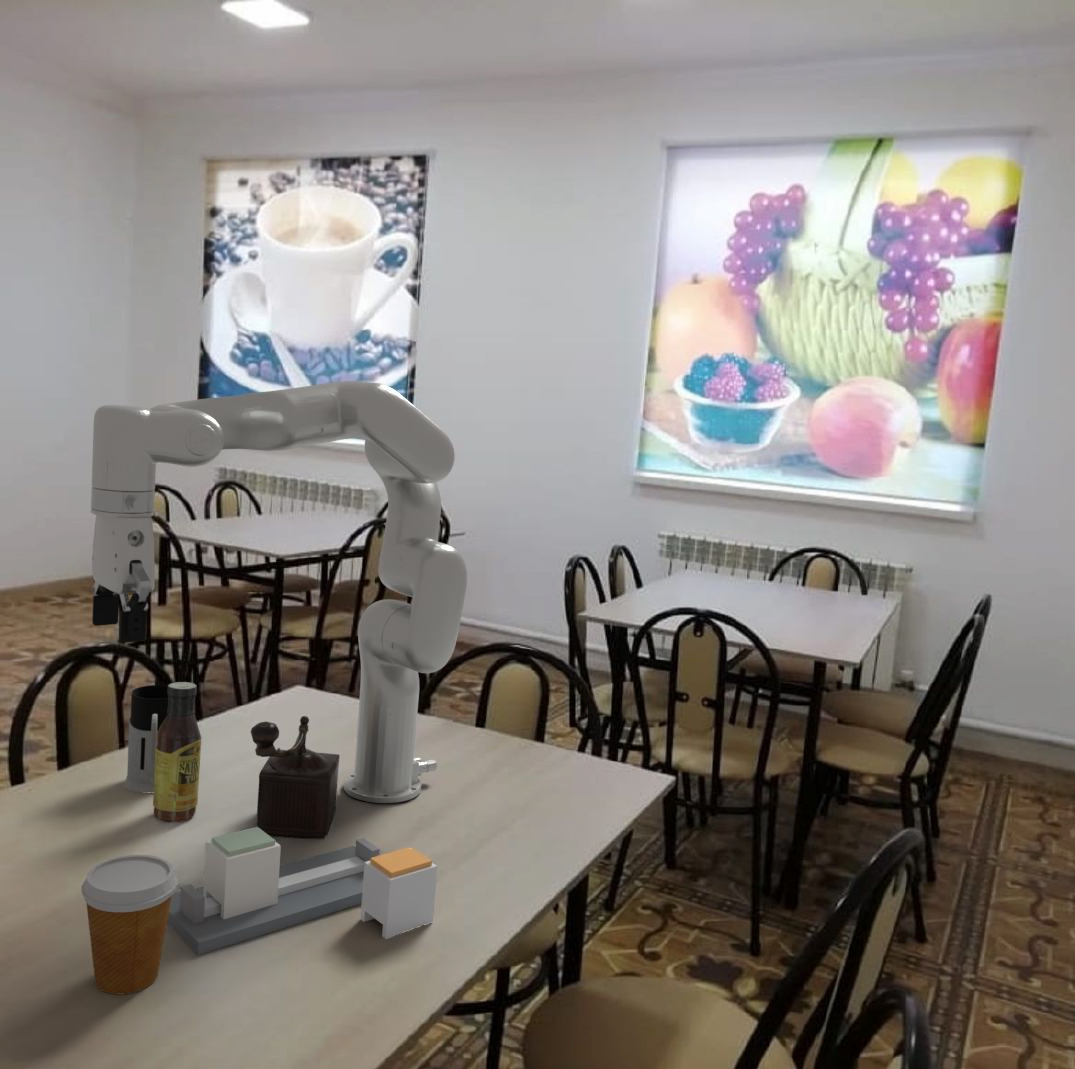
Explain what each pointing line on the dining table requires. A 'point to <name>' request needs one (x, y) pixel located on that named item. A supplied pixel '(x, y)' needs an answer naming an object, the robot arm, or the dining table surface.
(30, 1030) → the dining table surface
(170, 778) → the sauce bottle
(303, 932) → the dining table surface
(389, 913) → the module
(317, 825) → the pepper mill
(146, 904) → the disposable coffee cup
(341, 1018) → the dining table surface
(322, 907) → the rail board
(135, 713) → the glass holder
